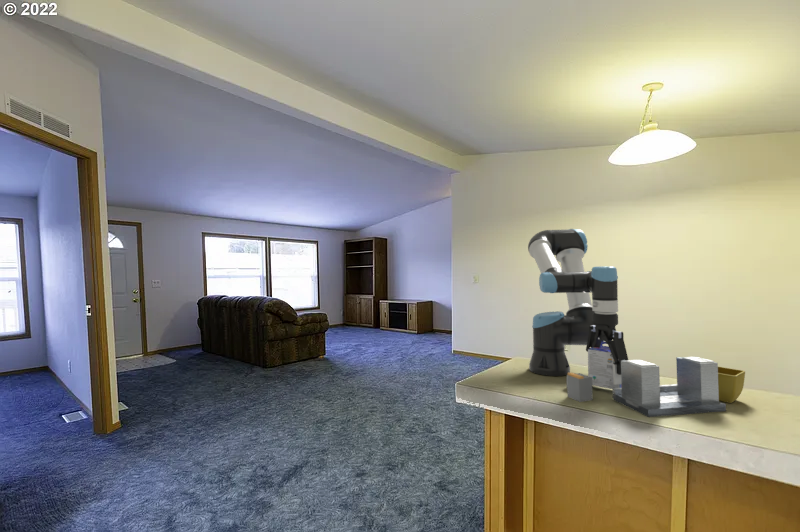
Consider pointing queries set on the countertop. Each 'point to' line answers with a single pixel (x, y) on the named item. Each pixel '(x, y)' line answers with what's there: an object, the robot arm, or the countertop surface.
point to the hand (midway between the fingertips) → (606, 378)
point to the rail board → (670, 388)
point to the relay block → (579, 387)
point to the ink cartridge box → (601, 367)
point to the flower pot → (730, 384)
